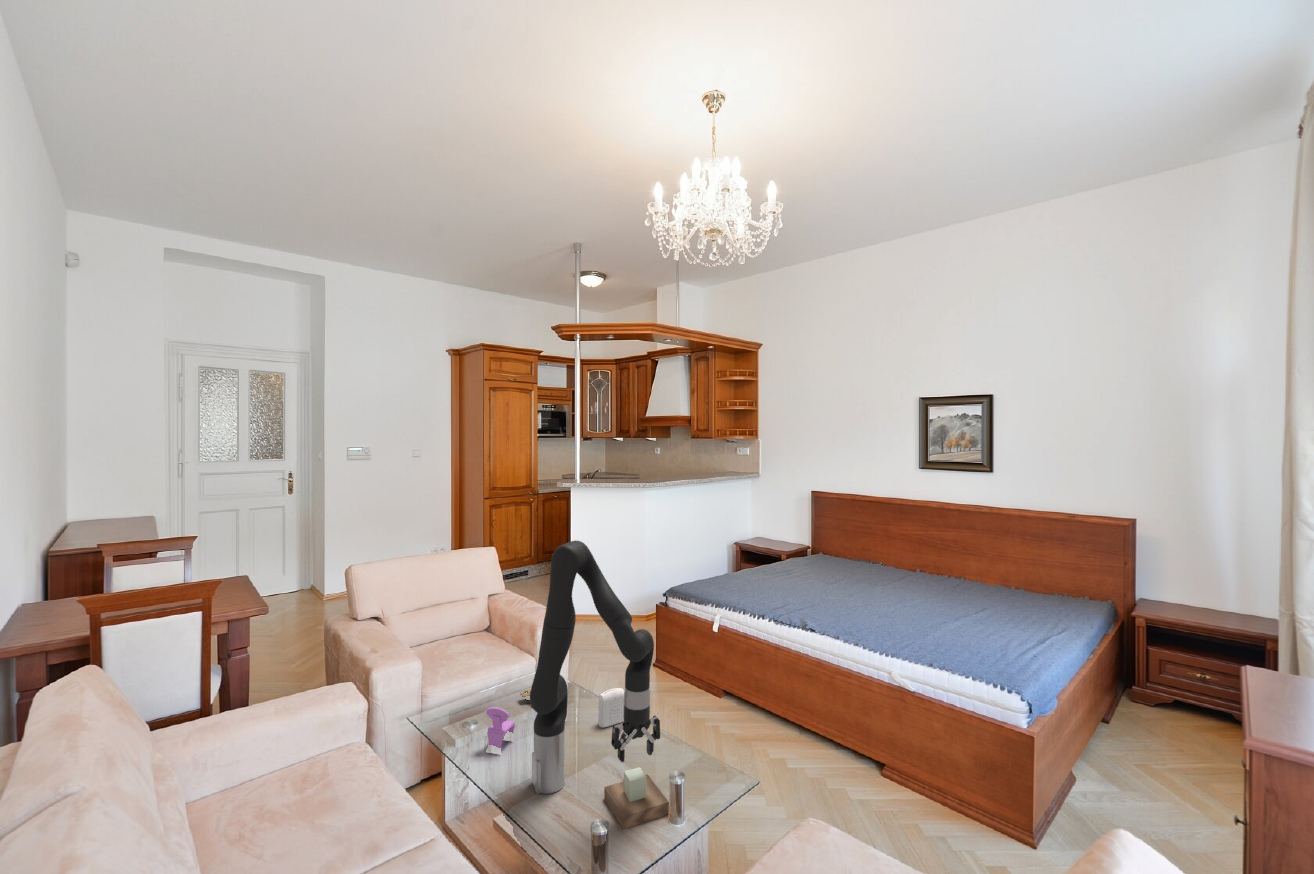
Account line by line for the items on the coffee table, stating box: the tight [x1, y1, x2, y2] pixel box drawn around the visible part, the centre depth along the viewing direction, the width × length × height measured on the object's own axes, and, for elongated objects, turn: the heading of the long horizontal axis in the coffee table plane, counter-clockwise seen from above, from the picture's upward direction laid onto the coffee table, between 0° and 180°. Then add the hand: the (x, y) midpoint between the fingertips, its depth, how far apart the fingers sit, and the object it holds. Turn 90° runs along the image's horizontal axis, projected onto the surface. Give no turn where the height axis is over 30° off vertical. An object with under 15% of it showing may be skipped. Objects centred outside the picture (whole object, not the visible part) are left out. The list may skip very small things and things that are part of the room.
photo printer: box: [597, 687, 625, 729], centre depth 214 cm, size 10×4×12 cm, turn 123°
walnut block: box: [603, 773, 670, 830], centre depth 169 cm, size 14×14×4 cm
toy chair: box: [485, 706, 516, 749], centre depth 198 cm, size 8×9×15 cm
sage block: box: [623, 766, 647, 802], centre depth 169 cm, size 5×5×6 cm
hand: (635, 757), depth 169 cm, fingers open, 8 cm apart
